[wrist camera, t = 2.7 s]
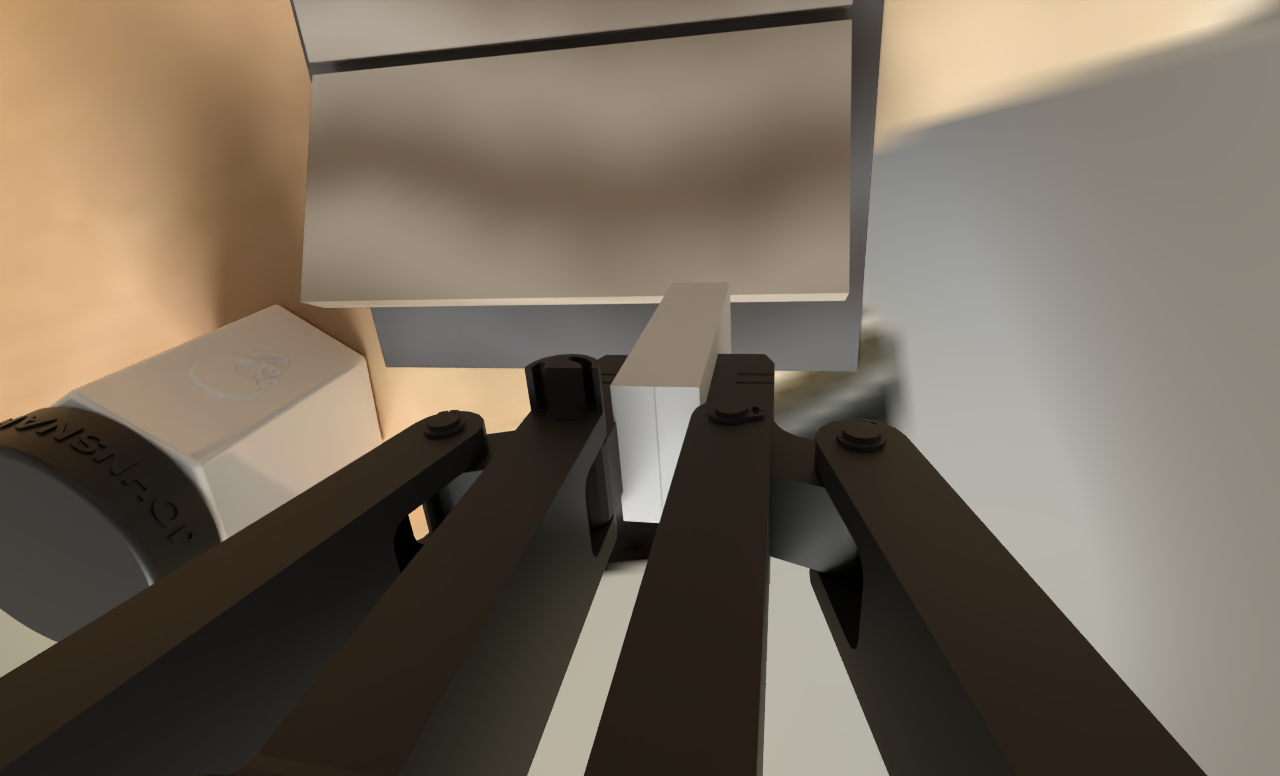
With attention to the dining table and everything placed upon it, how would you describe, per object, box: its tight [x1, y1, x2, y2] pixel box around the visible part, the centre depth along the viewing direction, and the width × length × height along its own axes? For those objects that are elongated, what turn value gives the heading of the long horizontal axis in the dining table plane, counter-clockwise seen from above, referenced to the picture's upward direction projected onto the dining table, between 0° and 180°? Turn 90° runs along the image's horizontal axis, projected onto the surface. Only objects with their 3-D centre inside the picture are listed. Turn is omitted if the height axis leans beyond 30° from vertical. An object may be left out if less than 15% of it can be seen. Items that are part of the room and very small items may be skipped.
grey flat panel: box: [290, 0, 884, 371], centre depth 21 cm, size 23×20×1 cm
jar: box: [0, 305, 382, 642], centre depth 25 cm, size 9×8×12 cm
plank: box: [300, 19, 852, 308], centre depth 21 cm, size 8×18×1 cm, turn 94°
